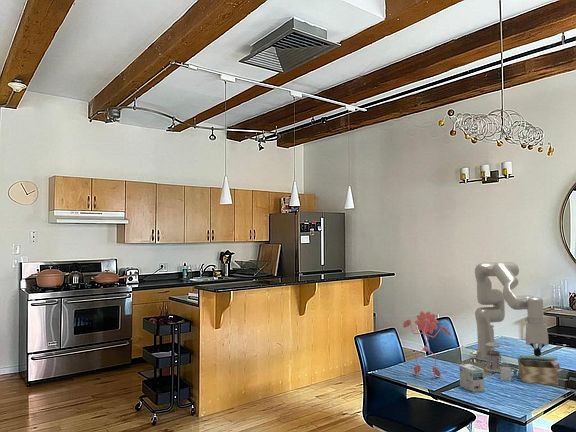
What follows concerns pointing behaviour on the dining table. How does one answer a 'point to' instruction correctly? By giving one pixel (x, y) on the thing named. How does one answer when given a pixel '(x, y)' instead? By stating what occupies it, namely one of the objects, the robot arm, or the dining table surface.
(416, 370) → the figurine
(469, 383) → the light bulb box
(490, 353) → the french press
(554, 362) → the packaged product
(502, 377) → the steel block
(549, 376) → the storage box
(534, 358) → the lid
